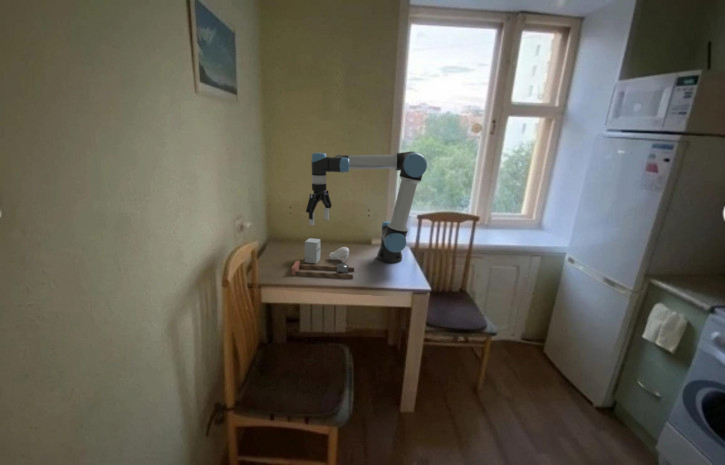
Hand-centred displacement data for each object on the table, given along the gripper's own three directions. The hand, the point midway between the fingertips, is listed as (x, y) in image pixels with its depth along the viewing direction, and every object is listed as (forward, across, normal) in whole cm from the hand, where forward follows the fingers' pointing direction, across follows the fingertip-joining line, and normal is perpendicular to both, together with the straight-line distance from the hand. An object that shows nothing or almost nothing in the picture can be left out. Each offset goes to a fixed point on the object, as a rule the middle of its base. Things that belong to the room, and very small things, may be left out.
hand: (319, 222), depth 184 cm
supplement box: (+25, -3, -7) cm, 27 cm away
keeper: (+26, +3, +17) cm, 31 cm away
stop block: (+25, +14, -6) cm, 29 cm away
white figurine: (+26, -12, +5) cm, 29 cm away
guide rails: (+25, +7, +9) cm, 28 cm away
